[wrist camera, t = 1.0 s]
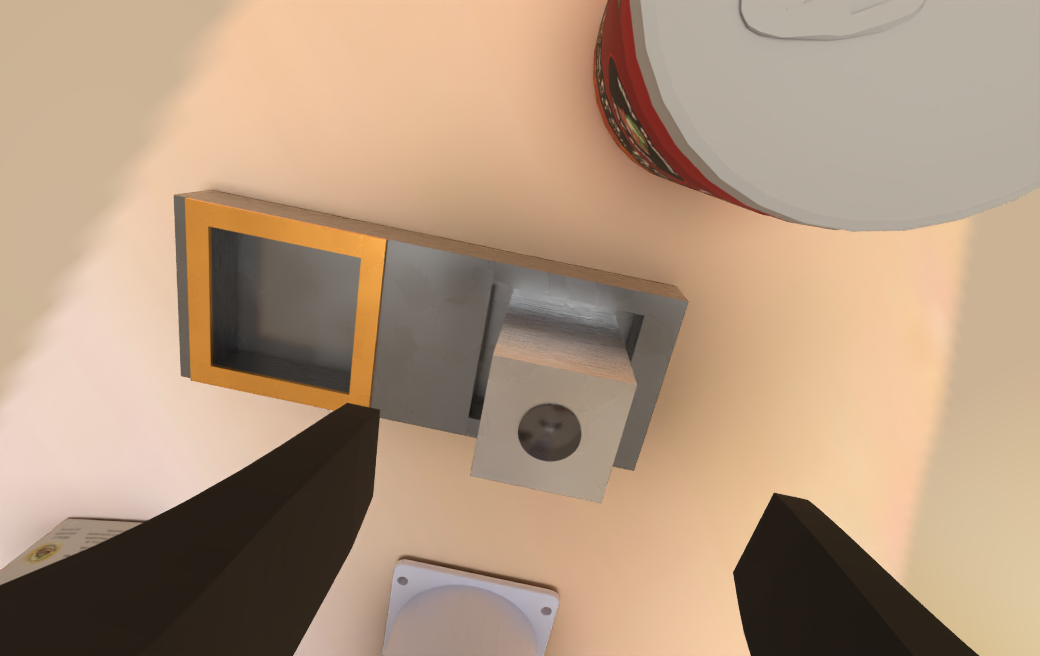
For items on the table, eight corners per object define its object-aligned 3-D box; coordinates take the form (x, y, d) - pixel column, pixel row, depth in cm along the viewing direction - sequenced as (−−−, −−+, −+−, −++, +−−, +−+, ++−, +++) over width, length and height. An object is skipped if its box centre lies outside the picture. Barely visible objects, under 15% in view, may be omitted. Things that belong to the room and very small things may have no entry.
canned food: (547, 31, 17) (526, -141, 7) (778, -144, 15) (1253, -764, 5) (660, 228, 19) (780, 331, 9) (879, 95, 17) (1377, 20, 7)
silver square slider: (590, 407, 21) (601, 505, 15) (494, 386, 21) (469, 477, 15) (615, 315, 20) (637, 386, 14) (512, 294, 20) (492, 356, 14)
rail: (627, 442, 22) (634, 473, 20) (213, 356, 22) (178, 377, 20) (676, 286, 20) (689, 302, 18) (210, 190, 20) (170, 195, 18)
